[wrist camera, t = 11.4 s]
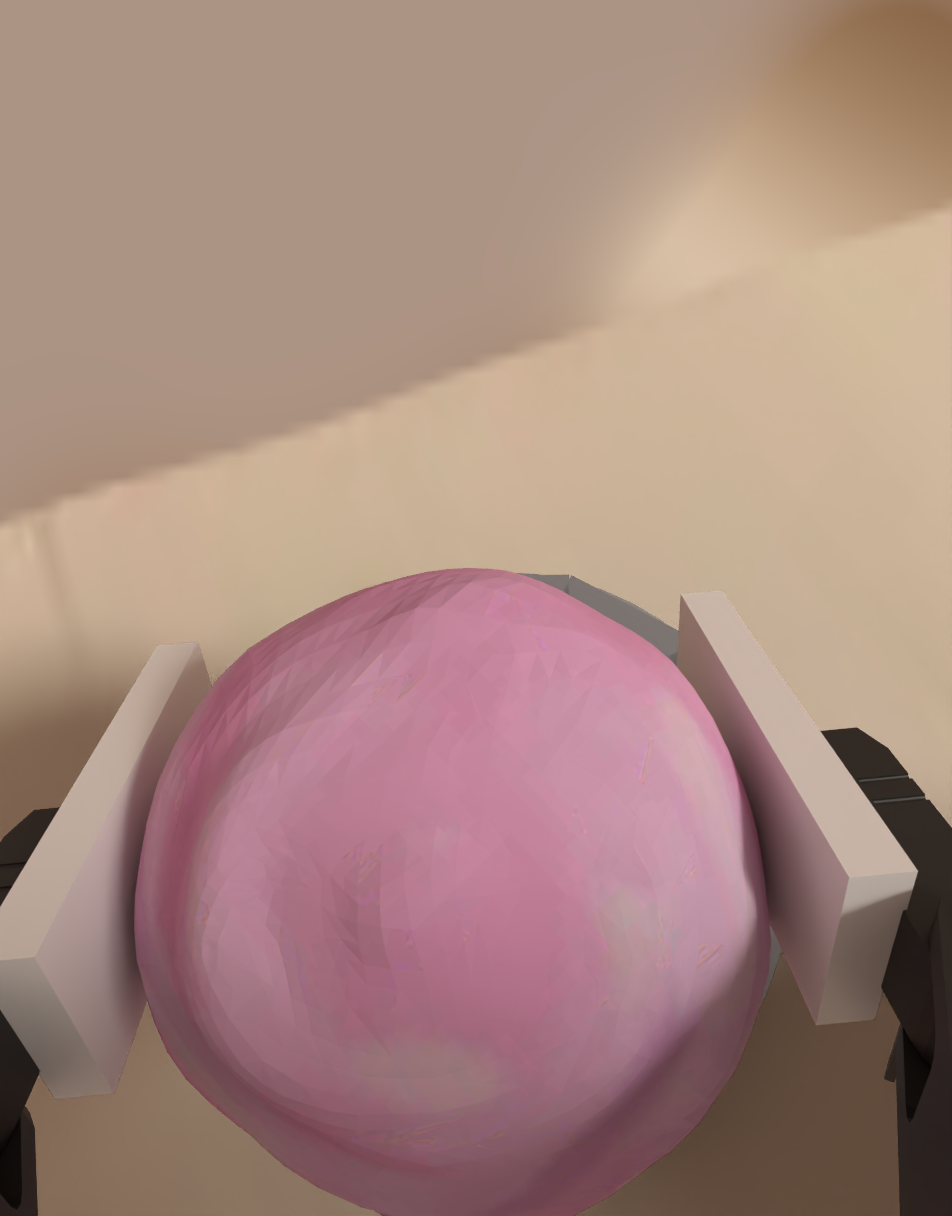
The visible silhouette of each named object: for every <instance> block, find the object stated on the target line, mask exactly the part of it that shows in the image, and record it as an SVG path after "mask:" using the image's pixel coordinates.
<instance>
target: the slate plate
mask: <svg viewBox="0 0 952 1216" xmlns="http://www.w3.org/2000/svg"><path fill="white" fill-rule="evenodd" d="M516 574H521V573H516ZM521 575H524V576H527V577H530V578H533V579H535V580H538V581H541V582H543V583H545V584H548V585H550V586H552V587H555V588H557V589H559V590H561V591H563V592H565V593H566V594H568V595H570V596H572V597H573V598H575V599H577V600H579V601H580V602H582V603H584V604H586V605H587V606H589V607H591V608H593V609H594V610H596V611H598V612H599V613H601V614H603V615H604V616H606V617H608V618H610V619H612V620H613V621H615V622H617V623H619V624H621V625H622V626H624V627H626V628H628V629H630V630H632V631H633V632H635V633H636V634H638V635H639V636H641V637H642V638H644V639H645V640H647V641H648V642H650V643H651V644H652V645H653V646H655V647H656V648H657V649H658V650H659V651H661V652H662V653H663V654H664V655H665V656H667V657H668V658H669V659H670V660H671V661H672V662H673V663H674V664H675V666H676V667H677V655H678V637H679V631H678V630H676V629H674V628H672V627H670V626H668V625H667V624H665V623H664V622H663V621H661V620H660V619H658V618H656V617H655V616H653V615H651V614H649V613H648V612H646V611H644V610H643V609H641V608H639V607H638V606H636V605H634V604H633V603H631V602H628V601H626V600H624V599H622V598H619V597H617V596H615V595H612V594H610V593H608V592H606V591H603V590H601V589H598V588H595V587H593V586H591V585H589V584H587V583H585V582H583V581H581V580H580V579H578V578H576V577H574V576H571V577H570V579H569V575H538V574H521ZM770 934H771V951H770V963H769V975H768V978H767V982H766V986H765V990H764V993H763V997H762V1001H763V999H764V997H765V995H766V994H767V991H768V988H769V986H770V983H771V980H772V977H773V974H774V972H775V969H776V966H777V963H778V960H779V958H780V956H781V953H782V949H781V947H780V945H779V943H778V941H777V938H776V936H775V934H774V932H773V929H772V927H771V925H770ZM762 1001H761V1003H762Z"/></svg>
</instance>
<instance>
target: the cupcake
mask: <svg viewBox="0 0 952 1216" xmlns="http://www.w3.org/2000/svg"><path fill="white" fill-rule="evenodd" d="M134 936H135V949H136V960H137V964H138V968H139V971H140V975H141V979H142V983H143V987H144V991H145V994H146V997H147V1000H148V1003H149V1007H150V1010H151V1013H152V1016H153V1019H154V1022H155V1025H156V1027H157V1029H158V1031H159V1034H160V1036H161V1038H162V1041H163V1043H164V1045H165V1047H166V1050H167V1052H168V1053H169V1055H170V1056H171V1058H172V1059H173V1061H174V1062H175V1064H176V1065H177V1067H178V1068H179V1069H180V1071H181V1072H182V1074H183V1075H184V1077H185V1078H186V1079H187V1080H188V1081H189V1082H190V1083H191V1084H192V1085H193V1086H194V1087H195V1088H196V1089H197V1090H198V1091H199V1092H200V1093H201V1094H202V1095H203V1096H204V1097H205V1098H206V1099H207V1100H208V1101H209V1102H210V1103H211V1104H212V1105H213V1106H215V1107H216V1108H217V1109H218V1110H219V1111H221V1112H222V1113H223V1114H224V1115H225V1116H227V1117H228V1118H229V1119H230V1120H231V1121H233V1122H234V1123H235V1124H237V1125H238V1126H239V1127H241V1128H242V1129H243V1130H244V1131H246V1132H247V1133H248V1134H250V1135H251V1136H252V1137H253V1138H254V1139H255V1140H256V1141H257V1142H258V1143H259V1144H260V1145H261V1146H262V1147H263V1148H265V1149H266V1150H267V1151H268V1152H269V1153H270V1154H272V1155H273V1156H274V1157H275V1158H276V1159H277V1160H278V1161H280V1162H281V1163H282V1164H283V1165H284V1166H285V1167H287V1168H288V1169H290V1170H292V1171H293V1172H295V1173H296V1174H298V1175H299V1176H301V1177H302V1178H304V1179H306V1180H307V1181H309V1182H310V1183H312V1184H313V1185H315V1186H317V1187H318V1188H320V1189H323V1190H325V1191H327V1192H329V1193H331V1194H334V1195H336V1196H338V1197H340V1198H343V1199H345V1200H347V1201H349V1202H351V1203H354V1204H356V1205H358V1206H360V1207H363V1208H367V1209H371V1210H374V1211H375V1212H377V1213H379V1214H381V1215H383V1216H575V1215H576V1214H578V1213H580V1212H582V1211H584V1210H586V1209H587V1208H589V1207H591V1206H593V1205H595V1204H597V1203H598V1202H600V1201H602V1200H604V1199H606V1198H608V1197H609V1196H611V1195H612V1194H614V1193H615V1192H616V1191H618V1190H619V1189H620V1188H622V1187H623V1186H624V1185H626V1184H627V1183H628V1182H630V1181H631V1180H633V1179H634V1178H635V1177H637V1176H638V1175H639V1174H641V1173H642V1172H643V1171H644V1170H645V1169H647V1168H648V1167H649V1166H650V1165H652V1164H653V1163H655V1162H656V1161H658V1160H659V1159H661V1158H662V1157H663V1156H665V1155H666V1154H668V1153H669V1152H671V1151H672V1150H673V1149H674V1148H675V1147H676V1146H677V1145H678V1144H679V1143H680V1142H681V1141H682V1140H683V1139H684V1138H685V1137H686V1136H687V1135H688V1134H689V1133H690V1132H691V1131H692V1130H693V1129H694V1128H695V1127H696V1126H697V1125H698V1124H699V1122H700V1121H701V1119H702V1118H703V1116H704V1115H705V1114H706V1112H707V1111H708V1110H709V1108H710V1107H711V1105H712V1104H713V1103H714V1101H715V1100H716V1098H717V1097H718V1095H719V1094H720V1092H721V1091H722V1089H723V1088H724V1086H725V1085H726V1083H727V1082H728V1080H729V1079H730V1078H731V1077H732V1075H733V1074H734V1072H735V1070H736V1067H737V1065H738V1063H739V1061H740V1058H741V1056H742V1054H743V1051H744V1049H745V1047H746V1044H747V1042H748V1040H749V1037H750V1034H751V1031H752V1028H753V1025H754V1022H755V1020H756V1017H757V1014H758V1011H759V1008H760V1005H761V1001H762V997H763V993H764V990H765V986H766V982H767V978H768V975H769V963H770V951H771V934H770V922H769V911H768V903H767V895H766V884H765V876H764V868H763V860H762V854H761V849H760V843H759V838H758V833H757V829H756V825H755V821H754V817H753V813H752V809H751V806H750V803H749V800H748V797H747V794H746V791H745V788H744V785H743V782H742V779H741V777H740V775H739V772H738V770H737V768H736V766H735V763H734V761H733V759H732V757H731V754H730V752H729V750H728V748H727V746H726V744H725V742H724V740H723V738H722V736H721V734H720V732H719V730H718V728H717V726H716V723H715V721H714V719H713V717H712V716H711V714H710V713H709V711H708V710H707V708H706V706H705V705H704V703H703V702H702V700H701V699H700V697H699V695H698V694H697V692H696V691H695V689H694V688H693V686H692V685H691V684H690V683H689V681H688V680H687V679H686V678H685V676H684V675H683V674H682V673H681V672H680V670H679V669H678V668H677V667H676V666H675V664H674V663H673V662H672V661H671V660H670V659H669V658H668V657H667V656H665V655H664V654H663V653H662V652H661V651H659V650H658V649H657V648H656V647H655V646H653V645H652V644H651V643H650V642H648V641H647V640H645V639H644V638H642V637H641V636H639V635H638V634H636V633H635V632H633V631H632V630H630V629H628V628H626V627H624V626H622V625H621V624H619V623H617V622H615V621H613V620H612V619H610V618H608V617H606V616H604V615H603V614H601V613H599V612H598V611H596V610H594V609H593V608H591V607H589V606H587V605H586V604H584V603H582V602H580V601H579V600H577V599H575V598H573V597H572V596H570V595H568V594H566V593H565V592H563V591H561V590H559V589H557V588H555V587H552V586H550V585H548V584H545V583H543V582H541V581H538V580H535V579H533V578H530V577H527V576H524V575H521V574H516V573H512V572H508V571H502V570H493V569H477V568H463V569H446V570H439V571H431V572H425V573H420V574H416V575H412V576H407V577H403V578H400V579H397V580H393V581H390V582H385V583H382V584H379V585H377V586H374V587H370V588H366V589H363V590H360V591H358V592H355V593H352V594H349V595H347V596H344V597H342V598H340V599H338V600H336V601H334V602H331V603H329V604H327V605H324V606H322V607H320V608H318V609H316V610H314V611H312V612H310V613H308V614H306V615H304V616H302V617H300V618H299V619H297V620H295V621H293V622H291V623H289V624H287V625H285V626H284V627H282V628H280V629H279V630H277V631H276V632H274V633H273V634H271V635H269V636H268V637H266V638H265V639H263V640H261V641H260V642H258V643H257V644H255V645H254V646H252V647H250V648H249V649H248V650H247V651H246V652H245V653H244V654H243V655H242V656H241V657H240V658H239V659H238V660H236V661H235V662H234V663H233V664H232V665H231V666H230V667H229V668H228V669H227V670H226V671H225V672H224V673H223V674H222V675H221V676H220V677H219V678H218V679H217V681H216V682H215V683H214V685H213V686H212V688H211V689H210V690H209V692H208V693H207V694H206V696H205V697H204V698H203V700H202V701H201V703H200V704H199V705H198V707H197V708H196V709H195V711H194V712H193V714H192V716H191V717H190V719H189V721H188V722H187V724H186V726H185V728H184V729H183V731H182V733H181V734H180V736H179V738H178V739H177V741H176V743H175V745H174V747H173V749H172V751H171V754H170V756H169V758H168V760H167V763H166V765H165V767H164V769H163V772H162V774H161V776H160V778H159V781H158V783H157V786H156V790H155V794H154V797H153V801H152V805H151V808H150V812H149V815H148V819H147V824H146V829H145V835H144V840H143V846H142V851H141V857H140V863H139V870H138V877H137V884H136V891H135V910H134Z"/></svg>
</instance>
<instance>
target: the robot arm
mask: <svg viewBox="0 0 952 1216" xmlns="http://www.w3.org/2000/svg"><path fill="white" fill-rule="evenodd" d="M677 668H678V669H679V670H680V672H681V673H682V674H683V675H684V676H685V678H686V679H687V680H688V681H689V683H690V684H691V685H692V686H693V688H694V689H695V691H696V692H697V694H698V695H699V697H700V699H701V700H702V702H703V703H704V705H705V706H706V708H707V710H708V711H709V713H710V714H711V716H712V717H713V719H714V721H715V723H716V726H717V728H718V730H719V732H720V734H721V736H722V738H723V740H724V742H725V744H726V746H727V748H728V750H729V752H730V754H731V757H732V759H733V761H734V763H735V766H736V768H737V770H738V772H739V775H740V777H741V779H742V782H743V785H744V788H745V791H746V794H747V797H748V800H749V803H750V806H751V809H752V813H753V817H754V821H755V825H756V829H757V833H758V838H759V843H760V849H761V854H762V860H763V868H764V876H765V884H766V895H767V903H768V911H769V922H770V925H771V927H772V929H773V932H774V934H775V936H776V938H777V941H778V943H779V945H780V947H781V949H782V952H783V954H784V956H785V958H786V961H787V963H788V965H789V967H790V969H791V972H792V974H793V976H794V978H795V981H796V983H797V985H798V987H799V989H800V992H801V994H802V996H803V998H804V1001H805V1003H806V1005H807V1007H808V1009H809V1012H810V1014H811V1016H812V1018H813V1021H814V1023H815V1025H825V1024H835V1023H846V1022H856V1021H866V1020H875V1018H876V1014H877V1011H878V1007H879V1004H880V1000H881V997H882V994H883V992H884V994H885V995H886V997H887V999H888V1001H889V1003H890V1004H891V1006H892V1008H893V1010H894V1012H895V1014H896V1015H897V1017H898V1019H899V1021H900V1023H901V1024H900V1027H899V1030H898V1033H897V1036H896V1039H895V1042H894V1045H893V1049H892V1052H891V1055H890V1058H889V1061H888V1065H887V1069H886V1073H885V1077H884V1079H886V1080H889V1081H891V1082H894V1081H895V1078H896V1086H897V1122H898V1157H899V1192H900V1216H952V828H951V827H950V825H949V824H948V823H947V822H946V820H945V819H944V818H943V816H942V815H941V814H940V813H939V811H938V810H937V809H936V808H935V806H934V805H933V804H932V803H931V801H930V800H926V799H925V794H924V793H923V791H922V790H921V789H920V788H919V786H918V785H917V784H916V783H915V781H914V780H913V779H909V777H908V773H907V771H906V770H905V769H904V768H903V766H902V765H901V764H900V763H899V761H898V760H897V759H896V758H895V756H894V755H893V754H892V753H891V751H890V750H889V749H888V748H887V747H885V746H884V745H882V744H881V743H879V742H878V741H876V740H875V739H873V738H872V737H870V736H869V735H867V734H866V733H864V732H863V731H861V730H860V729H858V728H847V729H837V730H827V731H820V730H819V729H818V727H817V726H816V724H815V723H814V722H813V720H812V719H811V717H810V716H809V714H808V713H807V712H806V710H805V709H804V707H803V706H802V704H801V703H800V702H799V700H798V699H797V697H796V696H795V694H794V693H793V692H792V690H791V689H790V687H789V686H788V684H787V683H786V682H785V680H784V679H783V677H782V676H781V674H780V673H779V672H778V670H777V669H776V667H775V666H774V664H773V663H772V661H771V660H770V659H769V657H768V656H767V654H766V653H765V651H764V650H763V649H762V647H761V646H760V644H759V643H758V641H757V640H756V639H755V637H754V636H753V634H752V633H751V631H750V630H749V629H748V627H747V626H746V624H745V623H744V621H743V620H742V619H741V617H740V616H739V614H738V613H737V611H736V610H735V609H734V607H733V606H732V604H731V603H730V601H729V600H728V599H727V597H726V596H725V594H724V593H723V591H722V590H717V591H707V592H697V593H687V594H681V600H680V619H679V637H678V655H677ZM211 688H212V685H211V682H210V678H209V675H208V672H207V669H206V666H205V663H204V659H203V656H202V653H201V650H200V647H199V644H198V642H188V643H178V644H167V645H157V647H156V648H155V650H154V652H153V653H152V655H151V657H150V658H149V660H148V662H147V663H146V665H145V667H144V668H143V670H142V672H141V673H140V675H139V677H138V678H137V680H136V682H135V683H134V685H133V687H132V688H131V690H130V692H129V693H128V695H127V697H126V698H125V700H124V702H123V703H122V705H121V707H120V708H119V710H118V712H117V713H116V715H115V717H114V718H113V720H112V722H111V723H110V725H109V727H108V728H107V730H106V732H105V733H104V735H103V737H102V738H101V740H100V742H99V743H98V745H97V747H96V748H95V750H94V752H93V753H92V755H91V757H90V758H89V760H88V762H87V763H86V765H85V767H84V768H83V770H82V772H81V773H80V775H79V777H78V778H77V780H76V782H75V783H74V785H73V787H72V788H71V790H70V792H69V793H68V795H67V797H66V798H65V800H64V802H63V803H62V805H61V807H60V808H50V809H40V810H34V811H33V812H32V813H30V814H29V815H28V816H27V817H26V818H25V819H24V820H23V821H21V822H20V823H19V824H18V825H17V826H16V827H15V828H13V829H12V830H11V831H10V832H9V833H8V834H7V835H6V836H4V838H3V839H2V841H1V842H0V1216H38V1208H37V1180H36V1153H35V1128H34V1125H33V1121H32V1118H31V1115H30V1112H29V1111H28V1110H27V1108H26V1107H25V1104H26V1102H27V1100H28V1097H29V1095H30V1093H31V1091H32V1088H33V1086H34V1084H35V1082H36V1079H37V1077H38V1075H40V1077H41V1078H42V1080H43V1081H44V1083H45V1084H46V1086H47V1087H48V1089H49V1090H50V1092H51V1093H52V1095H53V1097H54V1098H55V1099H63V1098H73V1097H84V1096H94V1095H104V1094H114V1093H115V1090H116V1087H117V1084H118V1082H119V1079H120V1076H121V1073H122V1070H123V1067H124V1065H125V1062H126V1059H127V1056H128V1053H129V1050H130V1048H131V1045H132V1042H133V1039H134V1036H135V1033H136V1030H137V1028H138V1025H139V1022H140V1019H141V1016H142V1013H143V1011H144V1008H145V1005H146V1002H147V997H146V994H145V991H144V987H143V983H142V979H141V975H140V971H139V968H138V964H137V960H136V949H135V936H134V910H135V891H136V884H137V877H138V870H139V863H140V857H141V851H142V846H143V840H144V835H145V829H146V824H147V819H148V815H149V812H150V808H151V805H152V801H153V797H154V794H155V790H156V786H157V783H158V781H159V778H160V776H161V774H162V772H163V769H164V767H165V765H166V763H167V760H168V758H169V756H170V754H171V751H172V749H173V747H174V745H175V743H176V741H177V739H178V738H179V736H180V734H181V733H182V731H183V729H184V728H185V726H186V724H187V722H188V721H189V719H190V717H191V716H192V714H193V712H194V711H195V709H196V708H197V707H198V705H199V704H200V703H201V701H202V700H203V698H204V697H205V696H206V694H207V693H208V692H209V690H210V689H211Z"/></svg>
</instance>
